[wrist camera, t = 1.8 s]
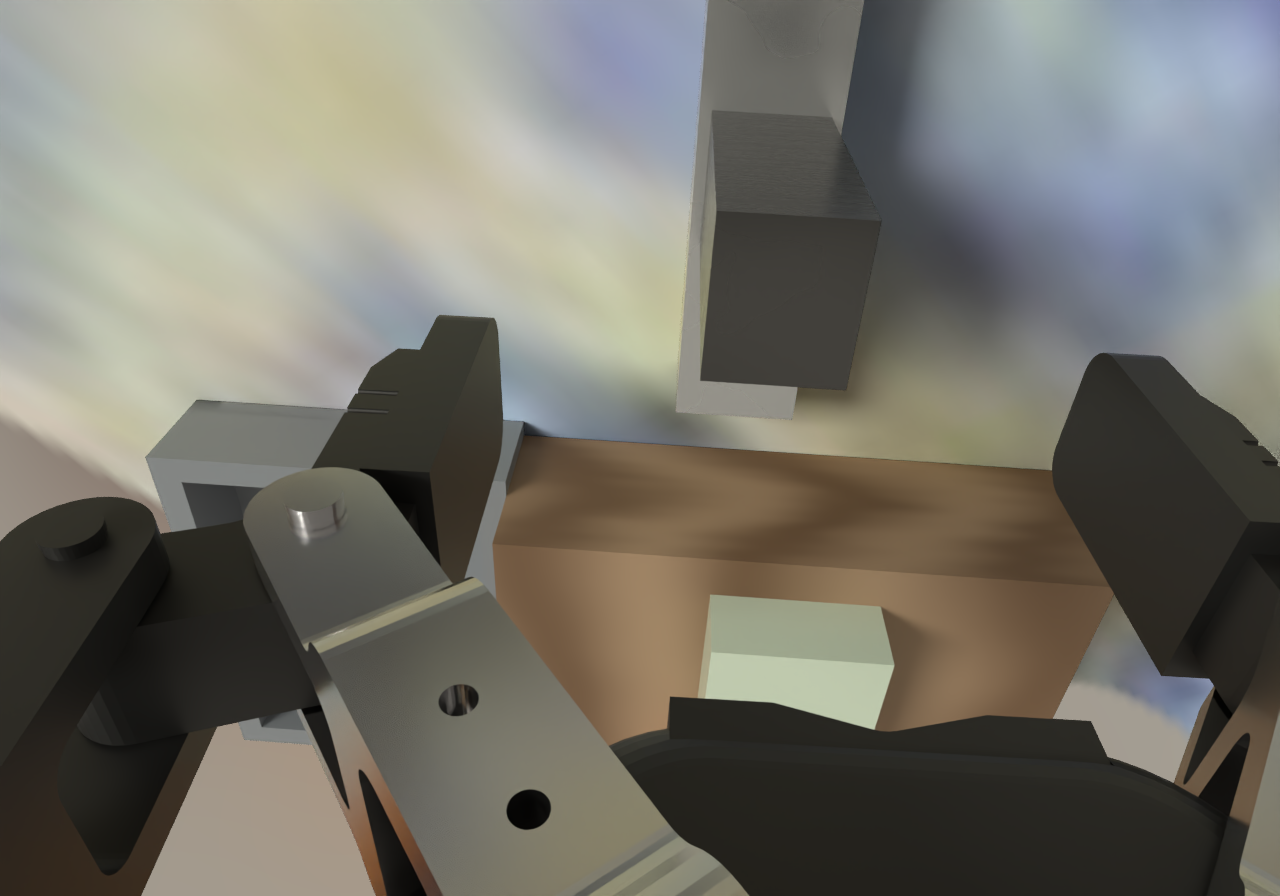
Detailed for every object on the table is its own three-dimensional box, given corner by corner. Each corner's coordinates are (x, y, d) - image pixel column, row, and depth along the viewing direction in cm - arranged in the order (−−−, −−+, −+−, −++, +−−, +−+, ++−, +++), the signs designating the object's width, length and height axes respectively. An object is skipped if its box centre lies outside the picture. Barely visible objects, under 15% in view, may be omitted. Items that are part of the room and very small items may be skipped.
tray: (523, 421, 26) (505, 481, 24) (534, 692, 33) (521, 760, 31) (196, 400, 26) (145, 457, 24) (277, 674, 34) (244, 739, 31)
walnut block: (1051, 470, 26) (1117, 587, 22) (952, 723, 33) (988, 847, 29) (524, 435, 27) (492, 543, 22) (534, 692, 33) (511, 812, 29)
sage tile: (880, 606, 23) (894, 665, 21) (849, 715, 26) (859, 775, 24) (710, 594, 23) (711, 652, 21) (696, 704, 26) (696, 763, 24)
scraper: (863, -147, 18) (977, -136, 11) (782, 362, 25) (818, 582, 17) (717, -154, 18) (729, -149, 11) (678, 355, 25) (669, 572, 18)
